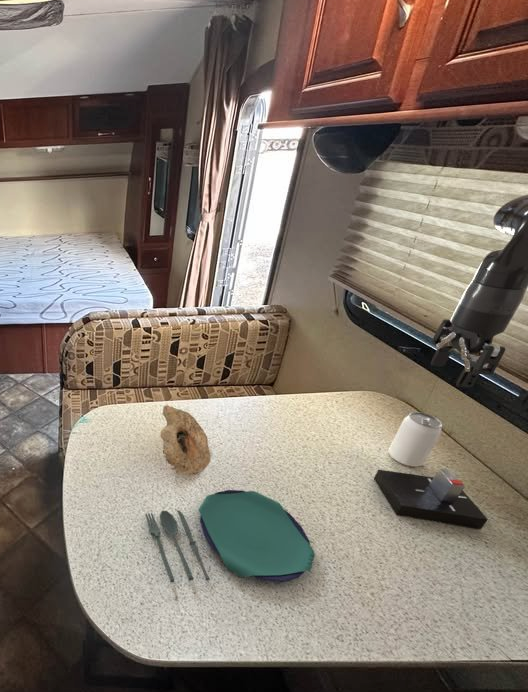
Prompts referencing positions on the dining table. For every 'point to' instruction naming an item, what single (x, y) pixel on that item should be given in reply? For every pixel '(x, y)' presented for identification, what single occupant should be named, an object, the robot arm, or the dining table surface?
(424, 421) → the can
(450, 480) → the stove knob
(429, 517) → the stove
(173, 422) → the brown hollow rock
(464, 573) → the dining table surface
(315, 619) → the dining table surface
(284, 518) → the cutlery set
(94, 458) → the dining table surface
